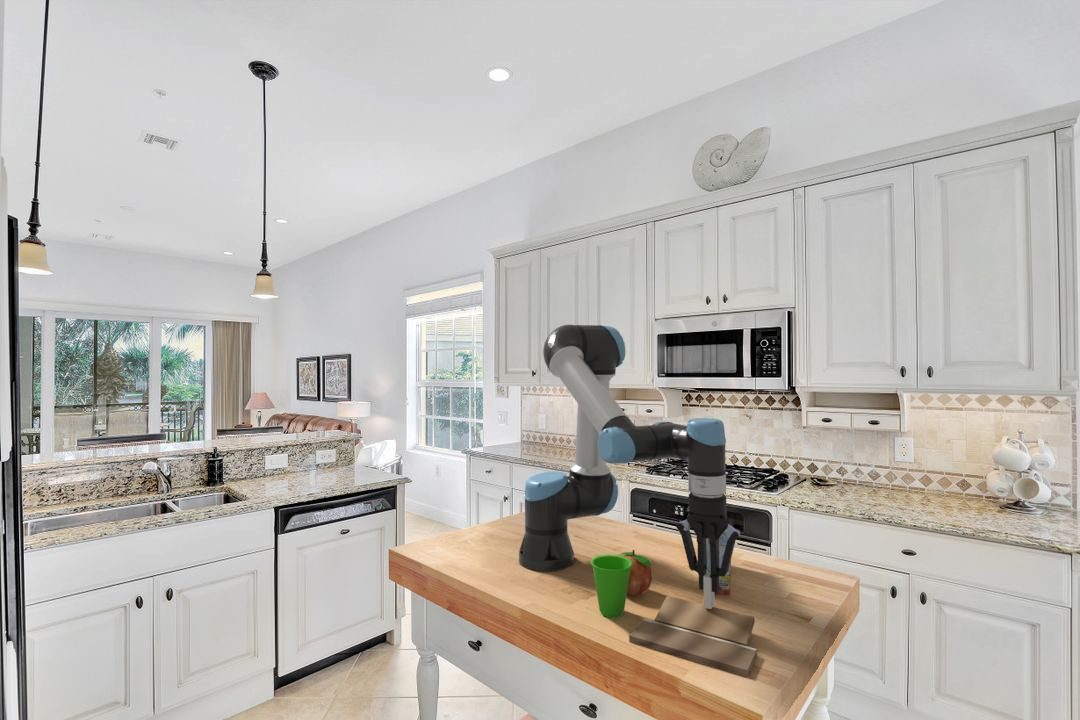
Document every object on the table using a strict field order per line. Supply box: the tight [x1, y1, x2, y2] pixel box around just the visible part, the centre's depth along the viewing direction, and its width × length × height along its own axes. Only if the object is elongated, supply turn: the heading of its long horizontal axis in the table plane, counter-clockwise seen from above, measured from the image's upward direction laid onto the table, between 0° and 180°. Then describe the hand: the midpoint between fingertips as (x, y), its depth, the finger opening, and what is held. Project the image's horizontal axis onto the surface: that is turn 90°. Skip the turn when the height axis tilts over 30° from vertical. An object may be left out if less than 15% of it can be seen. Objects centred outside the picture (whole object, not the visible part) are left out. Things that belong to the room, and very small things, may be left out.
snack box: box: [706, 530, 732, 597], centre depth 135 cm, size 21×6×15 cm, turn 168°
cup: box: [590, 554, 633, 619], centre depth 116 cm, size 9×9×11 cm
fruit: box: [620, 549, 653, 596], centre depth 126 cm, size 9×10×10 cm
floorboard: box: [628, 618, 758, 678], centre depth 102 cm, size 22×8×1 cm, turn 57°
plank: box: [653, 595, 756, 647], centre depth 109 cm, size 18×8×1 cm, turn 57°
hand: (709, 605), depth 112 cm, fingers closed
